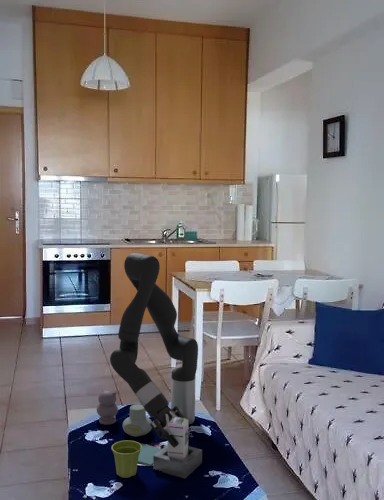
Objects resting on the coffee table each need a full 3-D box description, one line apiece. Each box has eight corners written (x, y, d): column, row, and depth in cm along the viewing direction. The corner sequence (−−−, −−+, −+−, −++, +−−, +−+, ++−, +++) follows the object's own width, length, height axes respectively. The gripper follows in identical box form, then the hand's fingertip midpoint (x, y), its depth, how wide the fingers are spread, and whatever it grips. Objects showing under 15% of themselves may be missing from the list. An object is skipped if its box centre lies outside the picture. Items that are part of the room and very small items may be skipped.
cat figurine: (92, 421, 208) (92, 391, 207) (106, 415, 214) (106, 385, 213) (108, 427, 203) (108, 396, 202) (122, 420, 210) (122, 390, 208)
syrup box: (184, 469, 172) (185, 425, 170) (166, 466, 173) (167, 423, 171) (188, 460, 177) (189, 418, 176) (170, 458, 178) (171, 416, 177)
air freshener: (119, 435, 196) (119, 409, 195) (128, 426, 204) (128, 401, 203) (147, 440, 193) (147, 413, 192) (155, 430, 201) (155, 404, 200)
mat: (141, 445, 189) (141, 443, 189) (168, 452, 184) (168, 450, 184) (122, 458, 179) (122, 456, 179) (150, 466, 174) (150, 464, 174)
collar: (171, 454, 183) (171, 441, 182) (202, 462, 177) (202, 449, 177) (153, 469, 172) (153, 455, 172) (185, 478, 167) (185, 464, 167)
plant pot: (114, 465, 174) (114, 439, 174) (143, 466, 174) (143, 440, 173) (108, 480, 165) (108, 453, 164) (139, 481, 165) (139, 454, 164)
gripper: (147, 400, 170) (178, 444, 166) (170, 386, 182) (200, 427, 178) (132, 412, 173) (163, 456, 169) (156, 398, 185) (185, 438, 181)
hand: (182, 441), depth 173 cm, fingers closed on syrup box, 7 cm apart
